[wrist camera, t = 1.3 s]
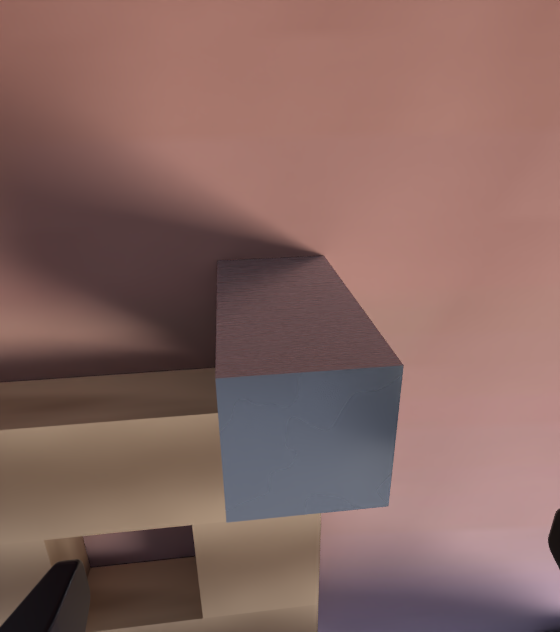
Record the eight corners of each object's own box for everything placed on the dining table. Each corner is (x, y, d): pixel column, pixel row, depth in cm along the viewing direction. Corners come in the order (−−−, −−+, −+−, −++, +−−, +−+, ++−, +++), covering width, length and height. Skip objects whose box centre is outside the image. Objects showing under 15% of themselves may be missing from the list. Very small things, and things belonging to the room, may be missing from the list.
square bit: (321, 349, 18) (388, 506, 11) (223, 355, 18) (226, 522, 11) (324, 255, 17) (403, 365, 10) (217, 260, 16) (215, 378, 9)
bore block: (305, 610, 24) (316, 674, 22) (6, 647, 23) (-23, 720, 20) (308, 361, 18) (324, 404, 16) (-96, 389, 17) (-156, 442, 14)
